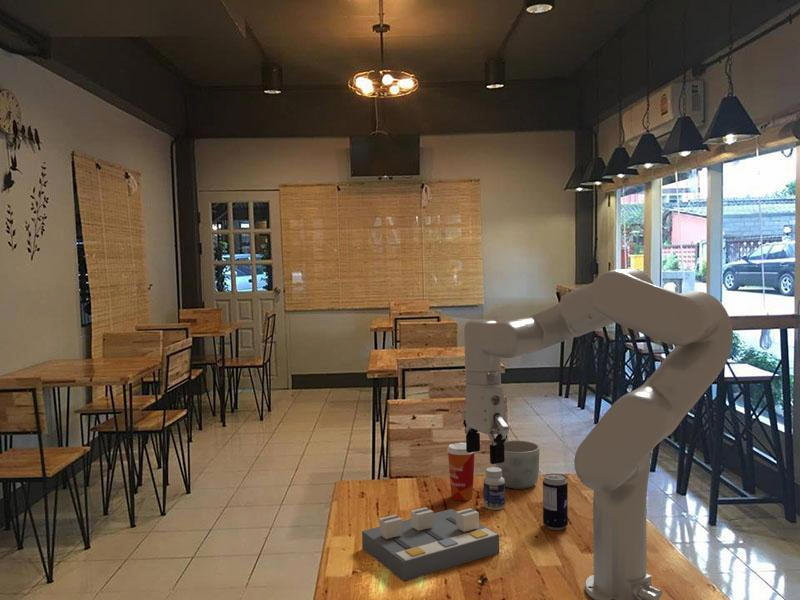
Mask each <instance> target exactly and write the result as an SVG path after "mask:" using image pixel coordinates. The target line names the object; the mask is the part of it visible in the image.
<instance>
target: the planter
mask: <svg viewBox="0 0 800 600" xmlns="http://www.w3.org/2000/svg"><path fill="white" fill-rule="evenodd" d="M494 465H495V467H497V468H500V469H502V476H501V477H503V478H504V480H505V488H509V489H514V490H518V489H519V490H522V489H530V488H531V487H533V486H534V485H536V484H537V482H538V478H539V473H540V472H539V471H540V470H539V469H540V445H538V444H537V443H536V442H531V441H527V440H513V439H512V440H506V443H505V444H504V462H503V463H498V464H494Z"/></svg>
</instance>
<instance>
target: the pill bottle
mask: <svg viewBox="0 0 800 600" xmlns="http://www.w3.org/2000/svg"><path fill="white" fill-rule="evenodd" d="M485 475H486V476H485V477H484V478H483V506H484V508H485V509H488V510H492V511H498V510H503V509H504V508H505V506H506V495H505V494H506V489H505V488H506V487H505V480H504V478H503V477H501V476H502V469H500V468H497V467H496V466H495V467H494V466H490V467H487V468H486V469H485Z"/></svg>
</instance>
